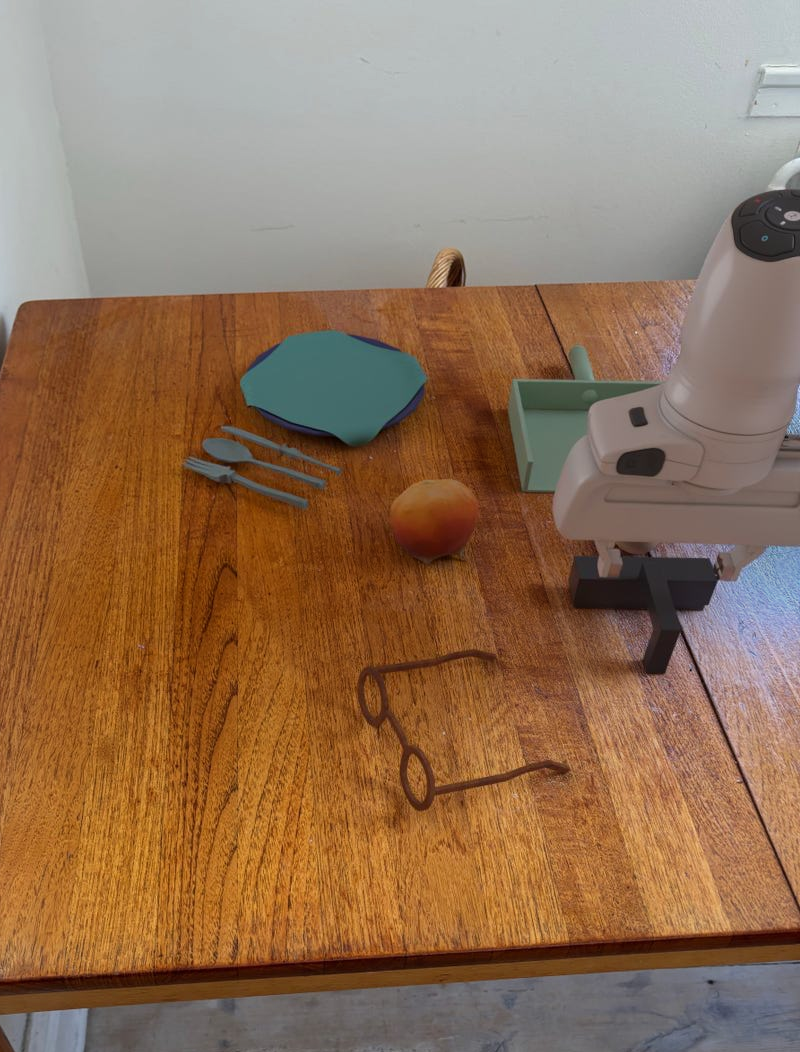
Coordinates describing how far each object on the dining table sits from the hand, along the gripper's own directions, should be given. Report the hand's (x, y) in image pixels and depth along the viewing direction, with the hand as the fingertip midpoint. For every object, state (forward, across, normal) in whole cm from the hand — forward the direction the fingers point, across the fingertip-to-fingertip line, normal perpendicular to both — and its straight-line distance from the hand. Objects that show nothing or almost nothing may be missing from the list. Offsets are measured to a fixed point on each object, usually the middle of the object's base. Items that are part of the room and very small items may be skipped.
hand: (665, 574), depth 85 cm
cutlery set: (+9, +30, -32) cm, 45 cm away
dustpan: (+8, 0, -32) cm, 33 cm away
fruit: (+8, +18, -12) cm, 23 cm away
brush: (+8, 0, -2) cm, 8 cm away
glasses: (+8, +16, +11) cm, 21 cm away
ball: (+8, -1, -12) cm, 15 cm away
